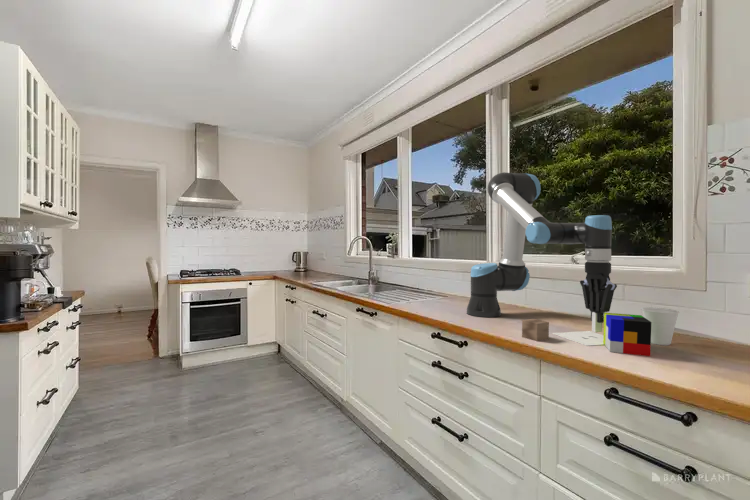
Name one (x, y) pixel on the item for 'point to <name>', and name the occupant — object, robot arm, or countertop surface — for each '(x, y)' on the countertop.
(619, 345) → the puzzle toy
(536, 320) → the walnut block
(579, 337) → the mat
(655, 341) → the cup
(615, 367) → the countertop surface
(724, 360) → the countertop surface
